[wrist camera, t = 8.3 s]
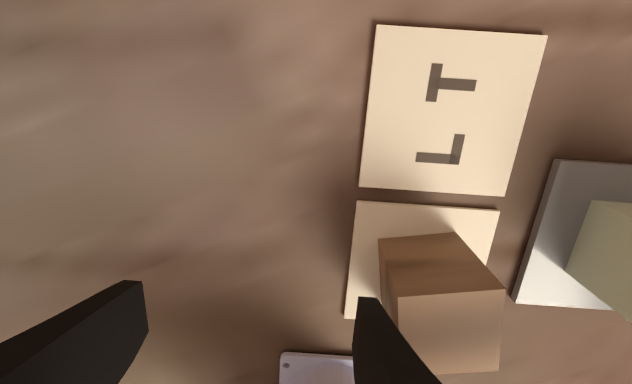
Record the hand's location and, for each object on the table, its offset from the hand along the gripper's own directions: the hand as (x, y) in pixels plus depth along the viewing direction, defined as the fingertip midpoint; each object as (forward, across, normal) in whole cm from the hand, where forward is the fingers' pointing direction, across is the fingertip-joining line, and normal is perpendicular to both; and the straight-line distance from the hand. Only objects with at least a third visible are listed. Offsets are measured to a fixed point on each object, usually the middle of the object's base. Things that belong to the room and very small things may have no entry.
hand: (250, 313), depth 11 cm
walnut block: (+10, -9, +4) cm, 14 cm away
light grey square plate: (+10, -21, +1) cm, 23 cm away
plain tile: (+10, -9, +4) cm, 14 cm away
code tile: (+10, -9, -6) cm, 15 cm away
